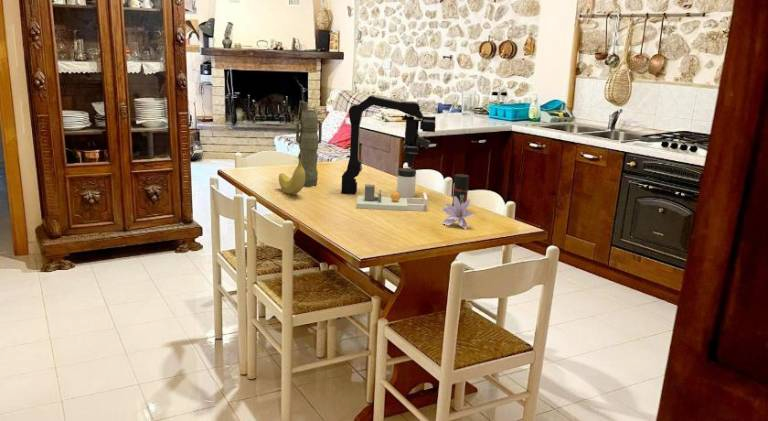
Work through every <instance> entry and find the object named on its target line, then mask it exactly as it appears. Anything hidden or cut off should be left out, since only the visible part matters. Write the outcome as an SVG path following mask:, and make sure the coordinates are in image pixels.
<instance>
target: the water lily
mask: <svg viewBox="0 0 768 421" xmlns="http://www.w3.org/2000/svg"><path fill="white" fill-rule="evenodd" d="M452 203H454V206H452ZM452 203H447V202H446V203H444V208H441V212H442V213H444V214H445V215H448V217H446V218H445V219H444V220H443V221H442V222H441V225H442V224H445V225H447V226H450V225H453V223H456V222H457V223H458V225H459V226H460V227H461V228H462V227H464V228H468V223H467V222H466V218H471V217H473V216H475V213H474V212H472V211H471V212H467V209H468V207H469V206H470V204H471V199H470V198H467V201H466V202H465V203H462V204H461V205H460V202H459V200H458V198H457V197H456V196H455V197H454V199H453V198H452ZM465 211H466V212H465ZM445 225H444V226H445Z"/></svg>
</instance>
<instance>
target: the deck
mask: <svg viewBox="0 0 768 421" xmlns="http://www.w3.org/2000/svg"><path fill="white" fill-rule="evenodd" d="M374 197H378V196H375V195H374ZM364 198H365V195H357V200H356V209H365V210H367V209H368V210H382V211H383V210H386V211H405V212H407V211H408V210H407V198H405V197H400V199H399V200H398V201H393V200H392V199H391V196H390V197H389V196H381V202H378V201H377V200H374V201H365V200H364Z"/></svg>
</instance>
